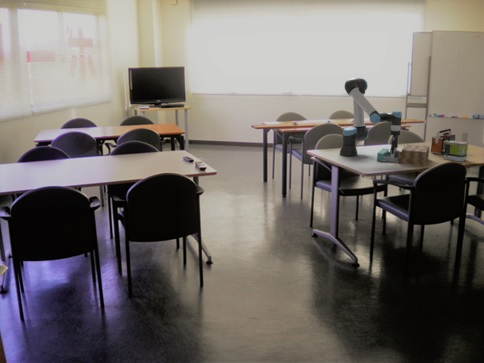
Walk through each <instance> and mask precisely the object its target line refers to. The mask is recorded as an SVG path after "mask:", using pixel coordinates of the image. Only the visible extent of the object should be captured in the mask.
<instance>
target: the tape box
mask: <svg viewBox="0 0 484 363" xmlns="http://www.w3.org/2000/svg"><path fill="white" fill-rule="evenodd" d="M399 151H400V150H398V149H397V150H395V152H394V158H398V157H399ZM389 152H390V156H389V157H391V150H390V149H389Z"/></svg>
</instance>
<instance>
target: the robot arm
mask: <svg viewBox="0 0 484 363" xmlns="http://www.w3.org/2000/svg"><path fill="white" fill-rule="evenodd" d="M368 86H369V85H368V82H367V80H366V79H364V78H361V77H358V78H356V77H355V78H348V79H347V80H346V81H345V83H344V90H345V93H346V94H347V95H348V96H349V97H351V98H352V100H353V102H352V103H353V104H352V105H353V125H352V126H350V127H349V126H348V127H345V128H343V131H342V141H341V143H342V145H341V147H340V150H339V155H340V156H342V155H343V157H356V156H358V154H359V152H358V149H357V143H358V142H363V141H365V140H367V139H368V137H369V135H370V131H369V130H368V128H367V125H366V124H365V114H366V115H367V116H368V117H369V121H370V123H372V124H379V123H391V126H390V135H391V136H392V138H391V145H390V149H389V151H390V150H391V157H393V158H394V152H395V150H398V148H399V146H398V144H399V143H398V142H399V141H398V140H399V136H400V135H401V128H402V118H403V116H402V114H403V113H402V111H401V110H393V111H392V112H386V111H385V112H384V111H383V112H382V111H380V112H378V110H377V109H376V108H375V107H374V106H373V105H372V103H370V101H369V100H368V98H366V97H365V94H366V91H367V89H368Z"/></svg>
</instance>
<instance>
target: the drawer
mask: <svg viewBox="0 0 484 363" xmlns="http://www.w3.org/2000/svg"><path fill="white" fill-rule="evenodd" d="M389 156H390V149H389V148H384V147H383V148H381V149H380V150H379V151H378V152H377V155H376V161H379V162H392V163H398V158H393V157H389Z"/></svg>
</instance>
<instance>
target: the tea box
mask: <svg viewBox="0 0 484 363" xmlns="http://www.w3.org/2000/svg"><path fill="white" fill-rule="evenodd" d="M468 147H469V143H468V142H466V141H465V142H464V141H456V140H455V141H448V142H446V143H445V152H444V156H443V159H444V160H450V161H457V162H464V160H465V161H467V158H468V157H467V156H468Z"/></svg>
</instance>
